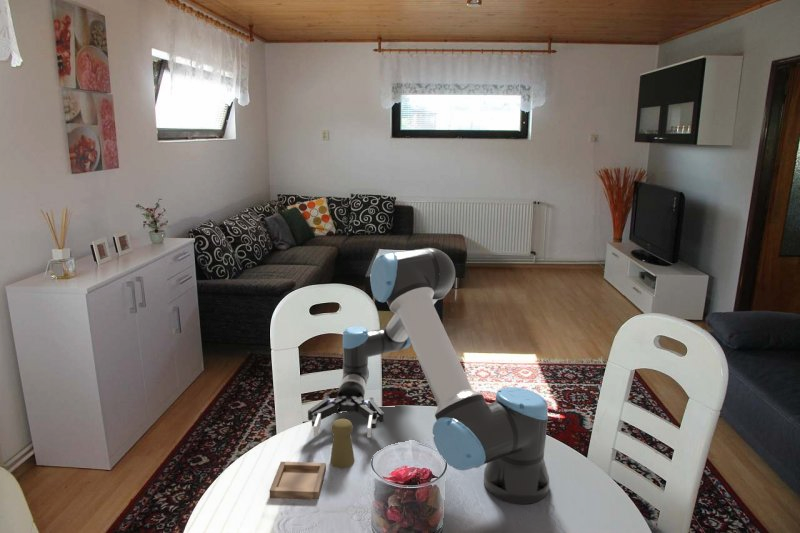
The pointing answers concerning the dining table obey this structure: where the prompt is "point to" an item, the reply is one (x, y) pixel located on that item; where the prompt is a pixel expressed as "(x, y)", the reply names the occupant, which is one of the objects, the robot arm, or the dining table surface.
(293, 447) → the dining table surface
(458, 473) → the dining table surface
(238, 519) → the dining table surface
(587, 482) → the dining table surface
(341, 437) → the cork
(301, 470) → the tray
